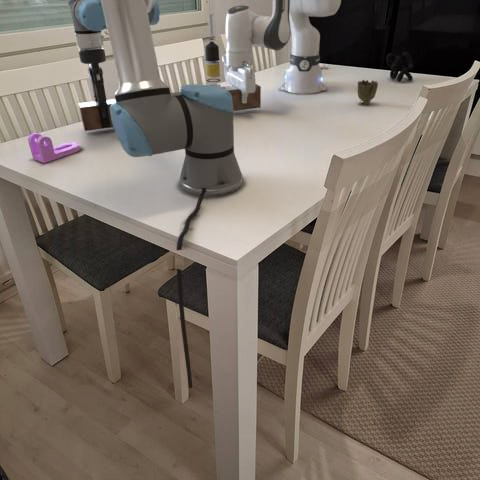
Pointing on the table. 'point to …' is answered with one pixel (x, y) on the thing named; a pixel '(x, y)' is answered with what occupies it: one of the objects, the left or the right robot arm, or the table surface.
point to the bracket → (49, 148)
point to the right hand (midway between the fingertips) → (240, 100)
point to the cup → (366, 91)
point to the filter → (212, 58)
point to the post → (92, 113)
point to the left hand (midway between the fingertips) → (104, 124)
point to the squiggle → (399, 66)
